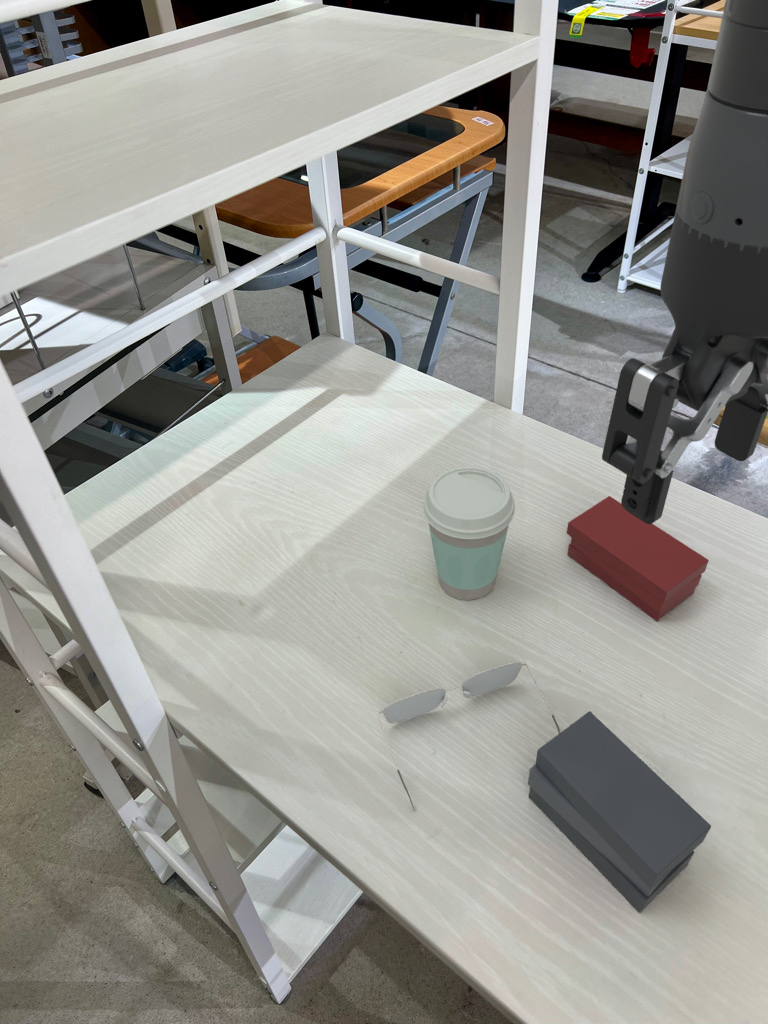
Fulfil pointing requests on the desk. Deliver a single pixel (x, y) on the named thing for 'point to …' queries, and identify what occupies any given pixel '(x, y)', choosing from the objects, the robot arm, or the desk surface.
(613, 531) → the thin oxblood book
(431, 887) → the desk surface
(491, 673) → the eyeglasses
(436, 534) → the coffee cup
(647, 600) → the oxblood books
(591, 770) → the grey books
